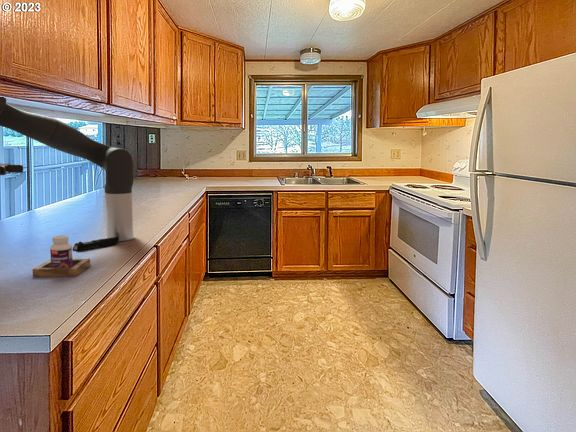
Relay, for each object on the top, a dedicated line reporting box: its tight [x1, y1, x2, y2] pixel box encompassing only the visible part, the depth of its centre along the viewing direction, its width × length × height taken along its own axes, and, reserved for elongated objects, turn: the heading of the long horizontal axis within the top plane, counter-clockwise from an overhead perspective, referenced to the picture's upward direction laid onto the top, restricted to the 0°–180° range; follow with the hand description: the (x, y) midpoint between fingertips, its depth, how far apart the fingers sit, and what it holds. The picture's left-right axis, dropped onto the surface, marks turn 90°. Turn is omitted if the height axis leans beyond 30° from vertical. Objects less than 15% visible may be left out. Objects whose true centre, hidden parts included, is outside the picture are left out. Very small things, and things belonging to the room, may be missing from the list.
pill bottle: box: [49, 234, 73, 268], centre depth 128 cm, size 5×5×10 cm
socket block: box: [32, 258, 91, 277], centre depth 128 cm, size 11×11×2 cm
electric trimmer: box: [72, 237, 119, 253], centre depth 156 cm, size 4×16×3 cm, turn 139°
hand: (14, 169), depth 123 cm, fingers open, 8 cm apart
